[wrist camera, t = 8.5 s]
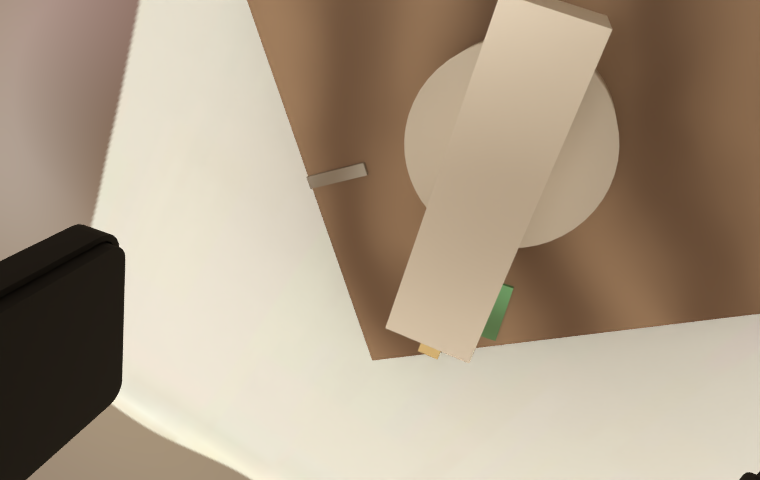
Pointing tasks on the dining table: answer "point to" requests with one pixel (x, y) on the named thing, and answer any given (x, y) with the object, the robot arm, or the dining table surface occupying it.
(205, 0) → the dining table surface
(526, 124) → the dial knob
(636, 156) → the dial board
